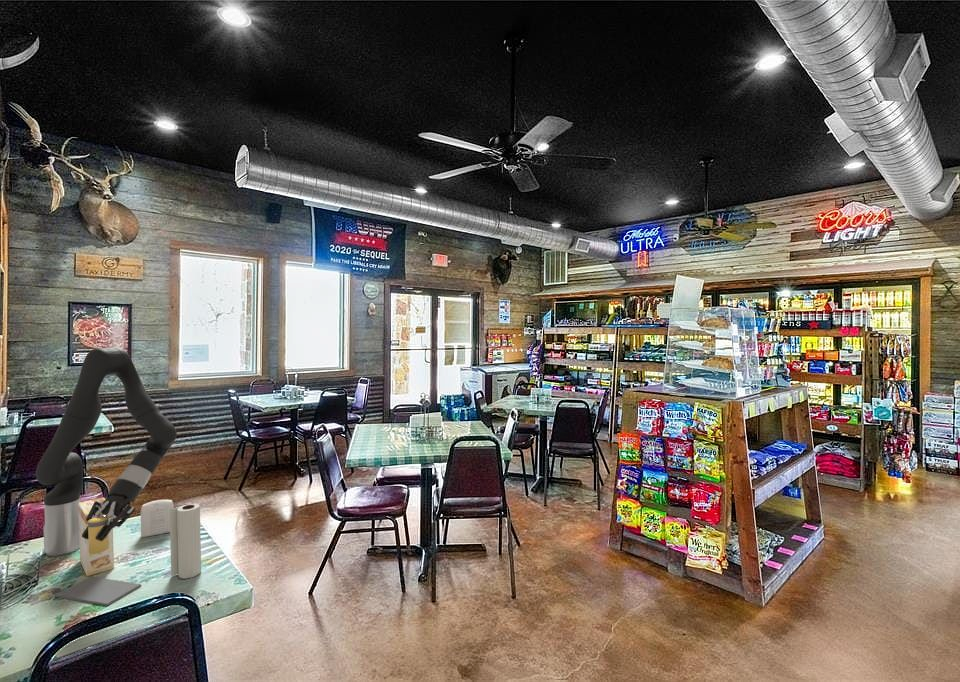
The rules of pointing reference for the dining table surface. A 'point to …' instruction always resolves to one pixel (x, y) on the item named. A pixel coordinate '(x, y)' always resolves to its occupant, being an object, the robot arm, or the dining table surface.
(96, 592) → the slate mat
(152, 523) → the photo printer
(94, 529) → the yellow domed cylinder
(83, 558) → the coffeecake box
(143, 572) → the dining table surface
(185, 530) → the paper towel roll
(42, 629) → the dining table surface
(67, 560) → the dining table surface
